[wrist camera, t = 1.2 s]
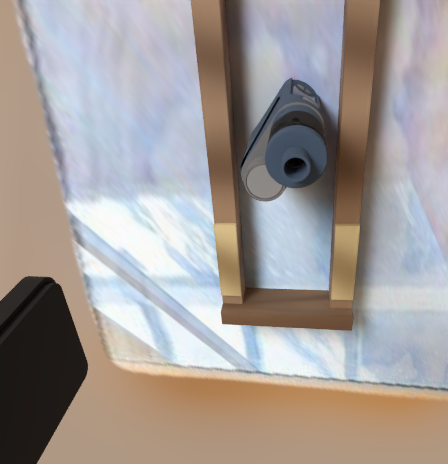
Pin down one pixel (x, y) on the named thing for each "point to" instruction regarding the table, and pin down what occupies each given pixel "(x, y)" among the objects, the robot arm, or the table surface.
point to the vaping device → (286, 144)
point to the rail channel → (346, 175)
